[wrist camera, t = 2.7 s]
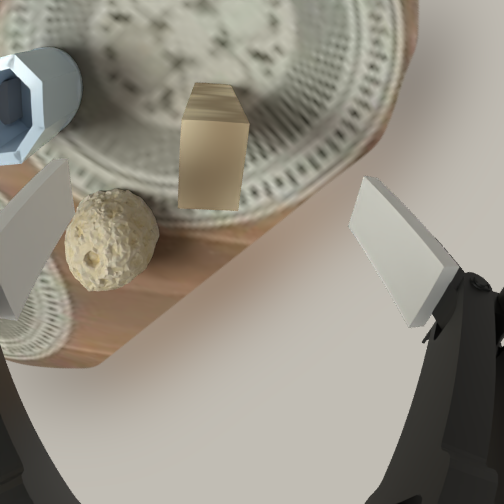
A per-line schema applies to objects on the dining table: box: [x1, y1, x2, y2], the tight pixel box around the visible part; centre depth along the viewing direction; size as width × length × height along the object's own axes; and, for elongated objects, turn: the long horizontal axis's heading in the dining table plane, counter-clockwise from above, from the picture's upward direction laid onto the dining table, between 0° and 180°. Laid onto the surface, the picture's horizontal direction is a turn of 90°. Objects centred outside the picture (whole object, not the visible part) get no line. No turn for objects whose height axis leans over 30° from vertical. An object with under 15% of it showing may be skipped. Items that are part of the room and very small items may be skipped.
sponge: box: [65, 189, 159, 291], centre depth 29 cm, size 9×10×10 cm
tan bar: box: [178, 83, 250, 211], centre depth 20 cm, size 3×4×14 cm, turn 172°
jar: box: [0, 47, 83, 165], centre depth 19 cm, size 9×9×8 cm
